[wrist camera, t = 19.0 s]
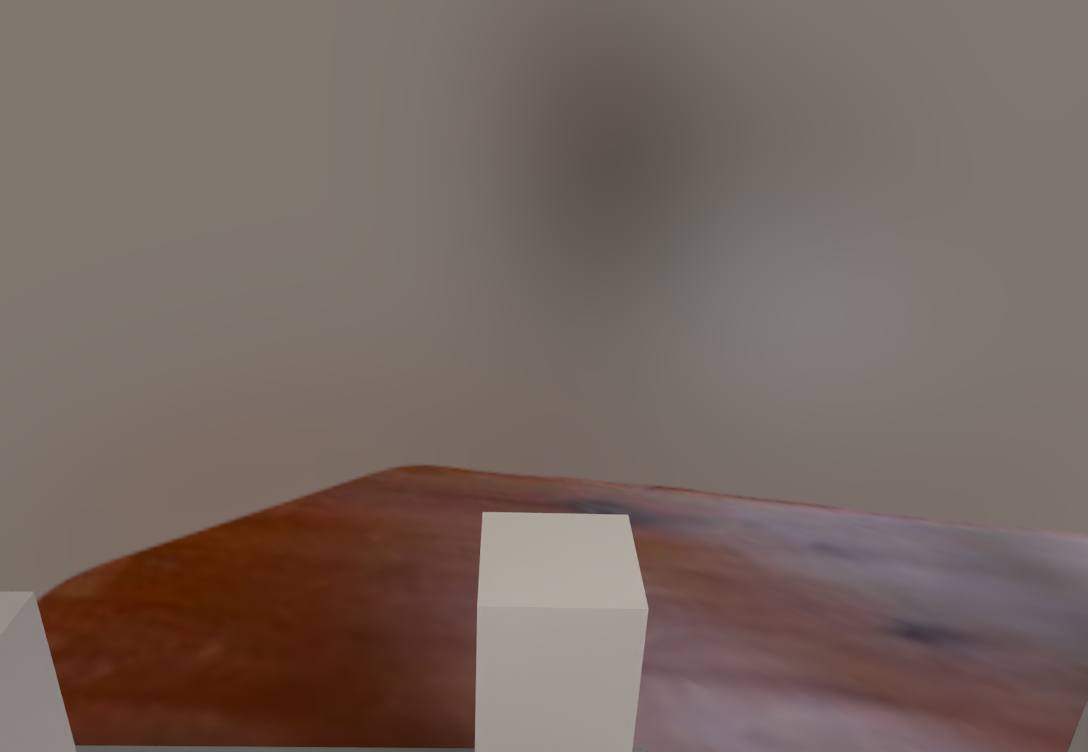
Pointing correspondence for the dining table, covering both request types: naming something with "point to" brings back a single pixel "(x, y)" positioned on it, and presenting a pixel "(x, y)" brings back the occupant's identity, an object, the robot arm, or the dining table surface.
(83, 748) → the switch base
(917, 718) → the dining table surface
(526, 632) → the switch lever
